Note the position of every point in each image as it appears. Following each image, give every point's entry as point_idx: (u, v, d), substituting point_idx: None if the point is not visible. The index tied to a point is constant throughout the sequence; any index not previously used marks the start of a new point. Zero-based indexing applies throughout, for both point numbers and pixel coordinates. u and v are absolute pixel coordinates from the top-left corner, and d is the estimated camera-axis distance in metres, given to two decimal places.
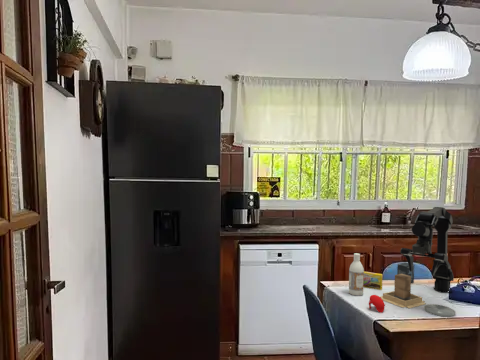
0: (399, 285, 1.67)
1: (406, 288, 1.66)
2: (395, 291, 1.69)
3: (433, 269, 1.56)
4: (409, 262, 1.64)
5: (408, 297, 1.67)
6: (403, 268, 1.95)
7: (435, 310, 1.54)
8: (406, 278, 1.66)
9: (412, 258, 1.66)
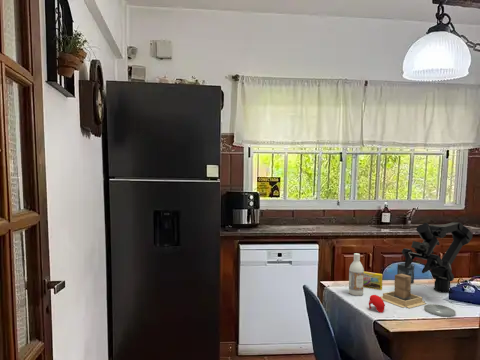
0: (399, 285, 1.67)
1: (406, 288, 1.66)
2: (395, 291, 1.69)
3: (425, 267, 1.69)
4: (406, 260, 1.78)
5: (408, 297, 1.67)
6: (403, 268, 1.95)
7: (435, 310, 1.54)
8: (406, 278, 1.66)
9: (411, 260, 1.79)
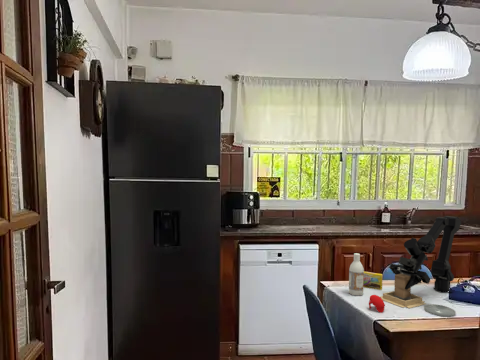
0: (399, 285, 1.67)
1: None
2: (395, 291, 1.69)
3: (408, 283, 1.66)
4: None
5: (408, 297, 1.67)
6: (403, 268, 1.95)
7: (435, 310, 1.54)
8: (406, 278, 1.66)
9: None
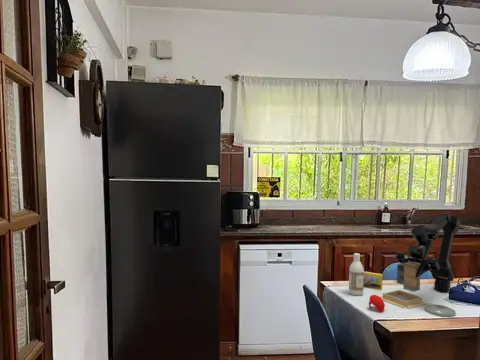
0: (409, 273, 1.63)
1: None
2: (405, 280, 1.65)
3: (418, 271, 1.62)
4: None
5: (418, 285, 1.63)
6: (403, 268, 1.95)
7: (435, 310, 1.54)
8: (416, 266, 1.62)
9: None
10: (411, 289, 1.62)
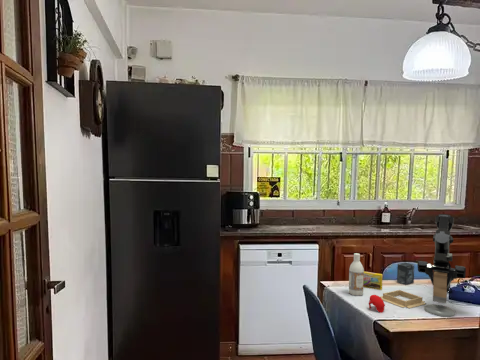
0: (440, 284, 1.54)
1: None
2: (434, 291, 1.55)
3: (448, 280, 1.54)
4: (432, 275, 1.58)
5: (446, 296, 1.55)
6: (403, 268, 1.95)
7: (435, 310, 1.54)
8: (446, 276, 1.54)
9: None
10: (442, 301, 1.53)
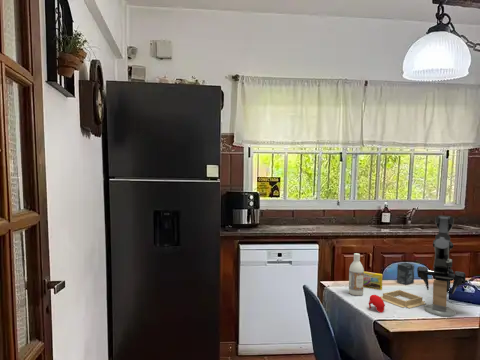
0: (440, 293, 1.54)
1: (446, 295, 1.54)
2: (434, 300, 1.55)
3: (453, 287, 1.53)
4: (427, 280, 1.59)
5: (446, 304, 1.55)
6: (403, 268, 1.95)
7: (435, 310, 1.54)
8: (446, 284, 1.54)
9: None
10: (442, 309, 1.53)
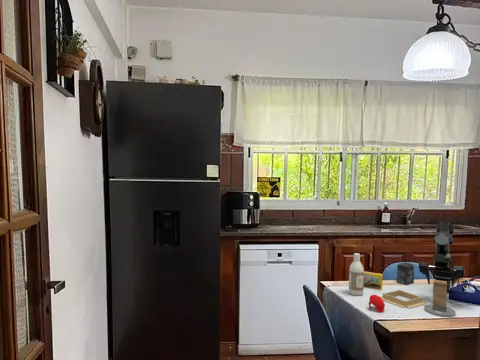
0: (440, 293, 1.54)
1: (446, 295, 1.54)
2: (434, 300, 1.55)
3: (453, 280, 1.61)
4: (428, 275, 1.67)
5: (446, 304, 1.55)
6: (403, 268, 1.95)
7: (435, 310, 1.54)
8: (446, 284, 1.54)
9: (429, 274, 1.70)
10: (442, 309, 1.53)
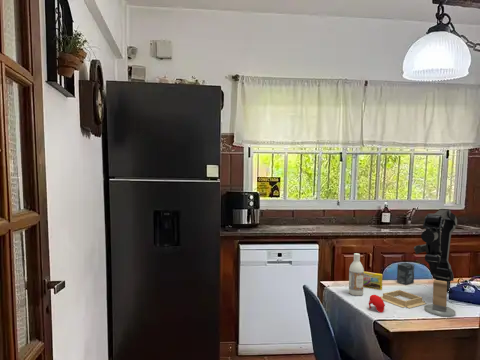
0: (440, 293, 1.54)
1: (446, 295, 1.54)
2: (434, 300, 1.55)
3: None
4: None
5: (446, 304, 1.55)
6: (403, 268, 1.95)
7: (435, 310, 1.54)
8: (446, 284, 1.54)
9: None
10: (442, 309, 1.53)
